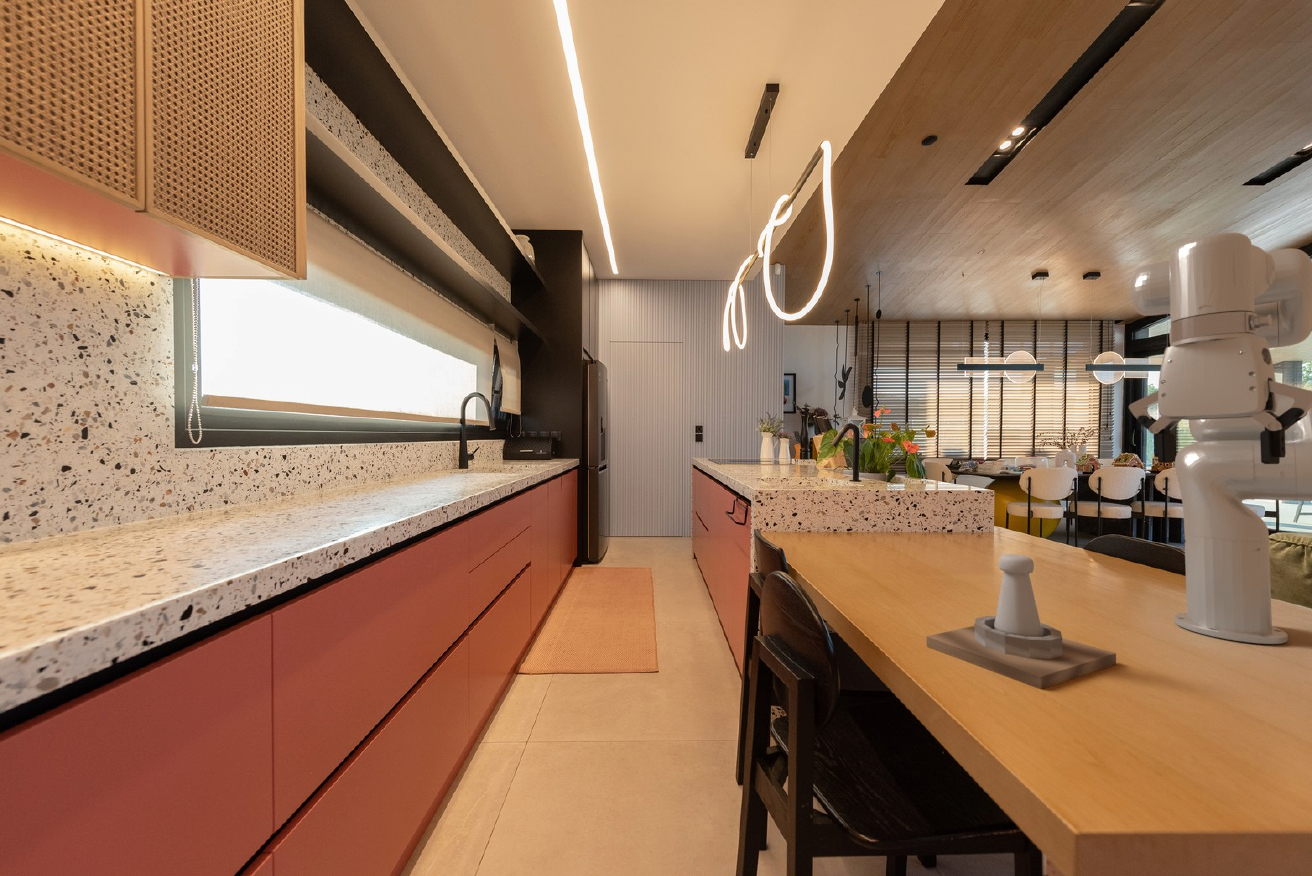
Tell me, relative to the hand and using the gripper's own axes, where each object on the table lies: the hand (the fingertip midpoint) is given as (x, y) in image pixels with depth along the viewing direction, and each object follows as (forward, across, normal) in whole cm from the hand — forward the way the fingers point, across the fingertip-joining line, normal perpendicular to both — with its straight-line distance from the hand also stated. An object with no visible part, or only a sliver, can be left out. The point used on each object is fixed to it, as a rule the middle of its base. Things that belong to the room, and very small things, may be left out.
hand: (1215, 463), depth 68 cm
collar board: (+28, +17, +14) cm, 36 cm away
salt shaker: (+27, +17, +14) cm, 35 cm away
